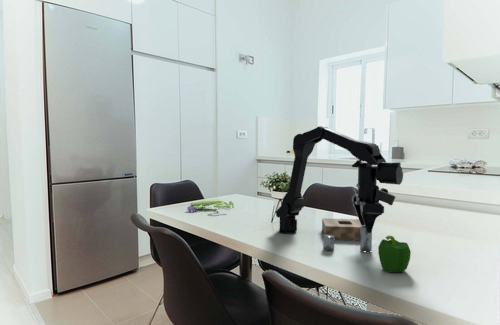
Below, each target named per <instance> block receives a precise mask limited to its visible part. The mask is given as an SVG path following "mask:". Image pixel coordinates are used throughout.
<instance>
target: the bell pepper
mask: <svg viewBox="0 0 500 325" xmlns="http://www.w3.org/2000/svg"><path fill="white" fill-rule="evenodd" d="M377 247H378V251H377V252H378V253H377V254H378V258H379V262H380V266H381V267H382V269H383V270H384V271H386V272H387V273H388V272H389V273H397V272H398V273H404V272H405V271H406V270H407V269H408V265H409V263H410V260H411V252H412V250H411V249H410V246H409V244H408V243H407V242H404V241H403V242H401V241H398V240H396V239H395V237H394V236H393V235H387V236H385V238H384V239H383V238H382V240H381V241H380V243H379V245H378V246H377Z"/></svg>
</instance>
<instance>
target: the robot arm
mask: <svg viewBox="0 0 500 325" xmlns="http://www.w3.org/2000/svg"><path fill="white" fill-rule="evenodd" d="M292 140H293V141H292V150H293V154H294V160H293V163H292V164H293V166H292V170H291V176H290V181H289V185H288V186H289V187H288V191H287V192H286V193H285V195H284V196H283V198H282V201H281V203H280V206H279V207H278V208H277V210H276V211H275V216H276V218H279V231H278V233H279V234H296V233H297V232H296V231H297V230H298V219H296V216H299V215H300V212H301V211H302V209H303V208H304V204H305V201H306V198H305V197H302V196H303V195H302V187H303V182H304V178H305V172H306V168H307V163H308V160H309V159H308V158H309V157H310V155H311V154H312V152H313V150H314V148H315V145H316V144H319V143H320V142H321V141H322V140H325V141H327V142H330V143H331V144H333V145H336V146H337V147H340V148H343V149H345V150H347V151H348V152H349V153H350V154H351V155H352V156H354V158H356V159H358V160H356V161H355V162H354V163H353V164H352V165H351V168H358V170H357V183H356V187H357V193H354V194H352V195H351V202H352V205H353V207H354V210H355V212H356V216H357V218H358V219H359V221H360V223H361V225H365V227H366V230H367V232H368V233H371V232H372V233H373V228H374V226H375V222H376V219H377V218H378V217H379V216H382V215H383V214H385V206H384V205H383V204H382V203H381V202H383V203H385V204H388V205H389V206H393V205H394V202H395V199H396V196H395V195H393V194H392V193H389V191H388V189H386V188H384V187H382V188H380V187H379V185H378V184H377V182H379V183H380V184H388V185H389V184H390V185H399V186H400V185H401V184H402V182H403V180H404V172H403V169H402V168H403V167H402V166H401V162H399V161H398V162H397V161H394V162H390V161H389V162H387V160H386V159H385V157H384V156H383V155H382V154H381V150H380V146H379V145H377V144H376V143H373V142H370V141H369V142H368V141H363V140H357V139H354V138H352V137H350V136H347V135H345V134H343V133H340V132H337V131H336V130H334V129H331V128H330V127H328V126H322V125H321V126H320V125H319V126H317V127H316V128H314V129H311V130H308V131H305V132H303V133H297V134H296V135H294V137H293V139H292Z"/></svg>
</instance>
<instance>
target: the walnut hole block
mask: <svg viewBox="0 0 500 325" xmlns="http://www.w3.org/2000/svg"><path fill="white" fill-rule="evenodd" d="M321 223H322V225H321V231H322V234H323V236H324V235H333V236H334V239H335V240H334V241H353V240H360V227H361V226H365V225H361V223H360V221H359V218H358V219H356V218H355V219H354V218H353V219H352V218H321Z"/></svg>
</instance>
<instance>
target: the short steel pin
mask: <svg viewBox="0 0 500 325" xmlns="http://www.w3.org/2000/svg"><path fill="white" fill-rule="evenodd" d="M322 242H323V243H322V246H323V247H322V250H323V249H324V250H323V251H325V250H326V251H325V252H334V251H335V240H334V236H333V235H324V234H323V240H322ZM333 250H334V251H333Z"/></svg>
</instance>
